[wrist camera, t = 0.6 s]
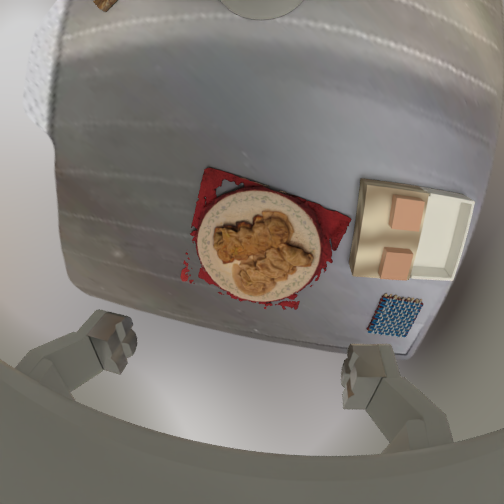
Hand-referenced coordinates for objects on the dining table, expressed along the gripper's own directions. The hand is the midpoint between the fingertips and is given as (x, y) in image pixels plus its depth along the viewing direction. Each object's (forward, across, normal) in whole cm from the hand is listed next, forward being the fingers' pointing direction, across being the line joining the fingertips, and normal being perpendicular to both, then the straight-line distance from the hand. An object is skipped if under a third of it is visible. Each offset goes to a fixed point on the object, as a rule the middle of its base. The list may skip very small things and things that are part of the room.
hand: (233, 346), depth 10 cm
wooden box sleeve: (+41, -18, +9) cm, 46 cm away
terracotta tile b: (+36, -20, +14) cm, 43 cm away
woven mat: (+42, -26, +29) cm, 57 cm away
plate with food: (+42, +4, +16) cm, 45 cm away
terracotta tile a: (+36, -20, +4) cm, 41 cm away
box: (+41, -29, +9) cm, 51 cm away
